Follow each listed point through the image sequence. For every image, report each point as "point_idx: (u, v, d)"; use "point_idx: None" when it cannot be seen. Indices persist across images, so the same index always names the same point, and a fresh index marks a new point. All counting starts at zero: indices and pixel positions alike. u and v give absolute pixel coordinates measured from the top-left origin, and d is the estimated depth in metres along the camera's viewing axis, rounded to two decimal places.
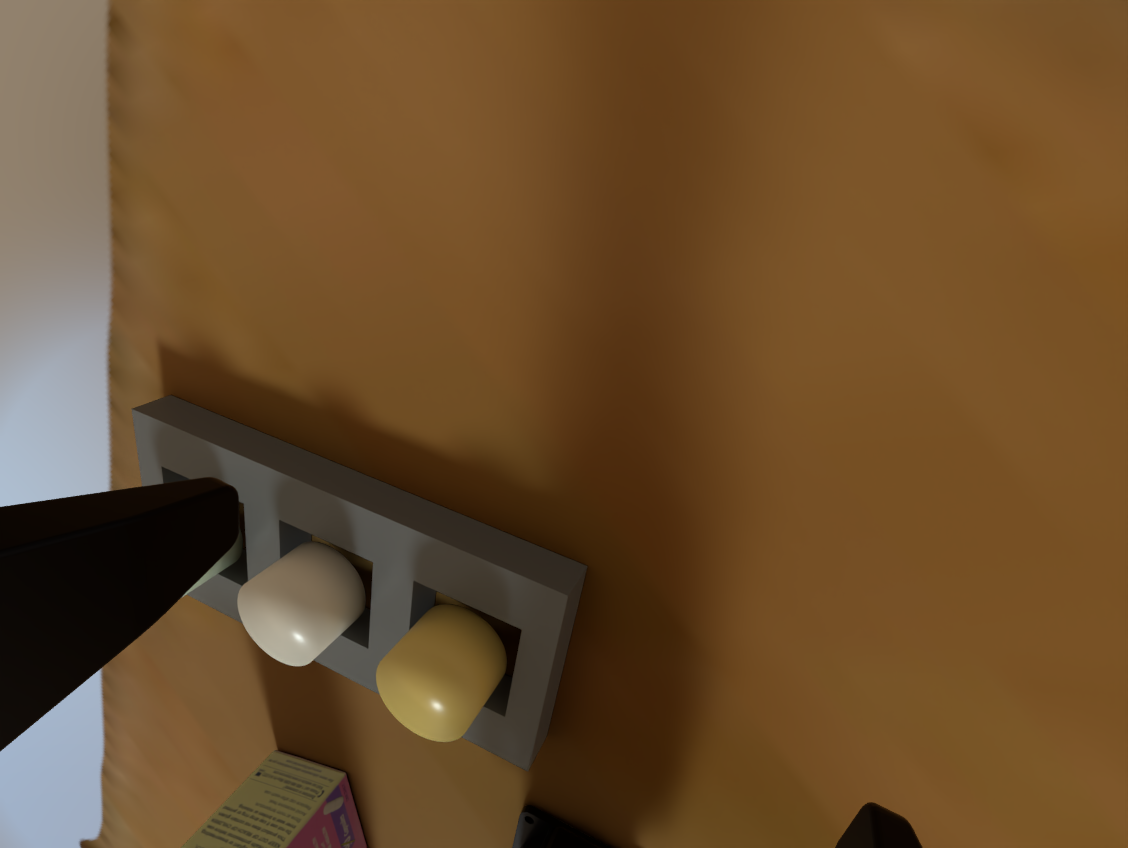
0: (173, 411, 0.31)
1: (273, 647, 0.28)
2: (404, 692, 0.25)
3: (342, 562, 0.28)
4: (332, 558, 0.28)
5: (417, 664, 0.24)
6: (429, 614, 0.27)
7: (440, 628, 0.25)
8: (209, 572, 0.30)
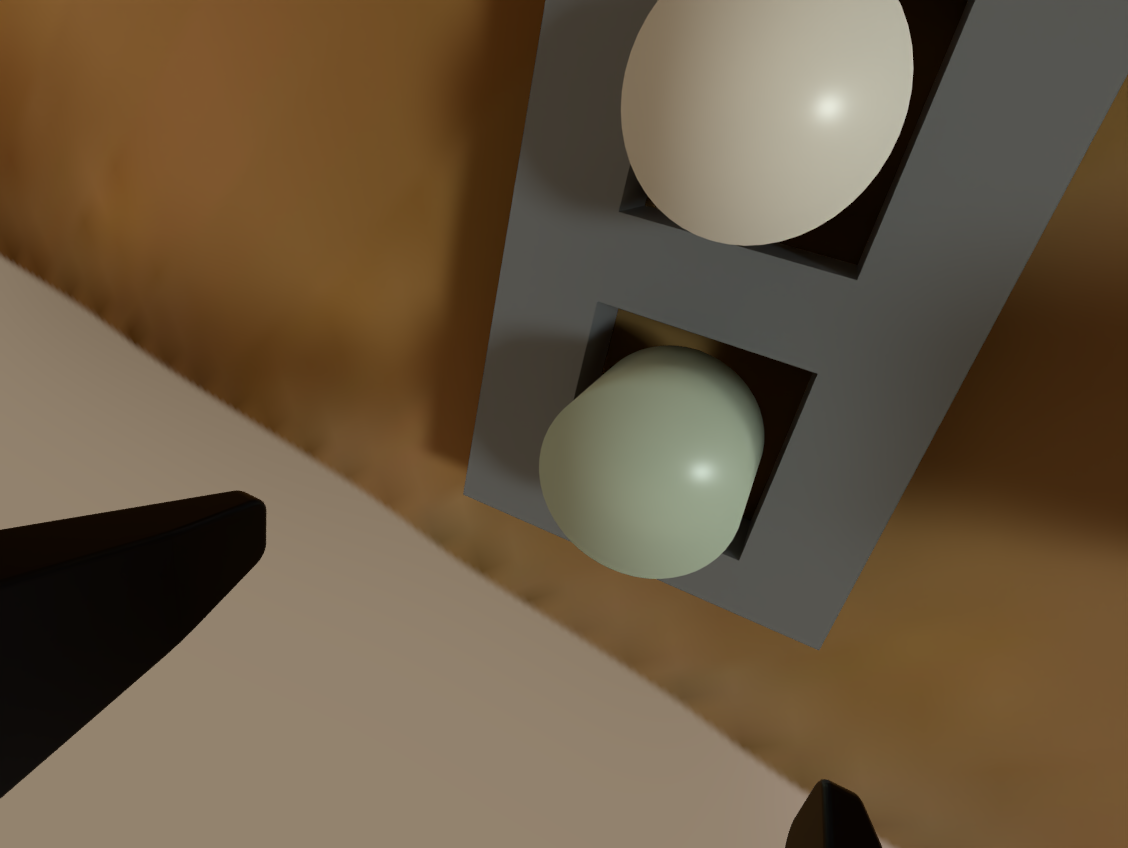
0: None
1: (846, 139, 0.10)
2: None
3: None
4: None
5: None
6: None
7: None
8: (704, 386, 0.13)
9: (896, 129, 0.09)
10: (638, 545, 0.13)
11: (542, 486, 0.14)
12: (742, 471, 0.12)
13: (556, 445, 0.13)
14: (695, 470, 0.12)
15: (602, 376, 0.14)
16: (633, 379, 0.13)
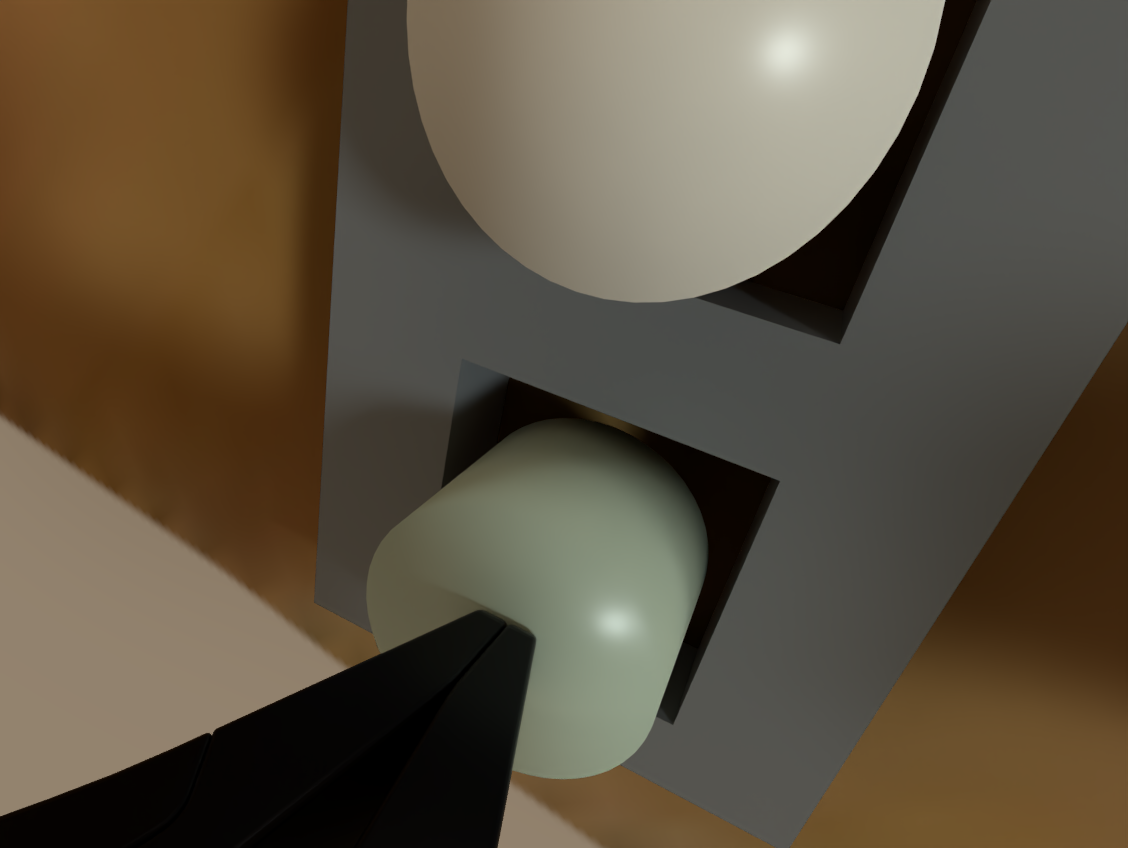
0: None
1: (811, 104, 0.05)
2: None
3: None
4: None
5: None
6: None
7: None
8: (606, 498, 0.08)
9: (911, 83, 0.05)
10: None
11: (375, 632, 0.09)
12: (655, 644, 0.08)
13: (387, 579, 0.09)
14: (584, 636, 0.08)
15: (468, 468, 0.10)
16: (493, 490, 0.08)
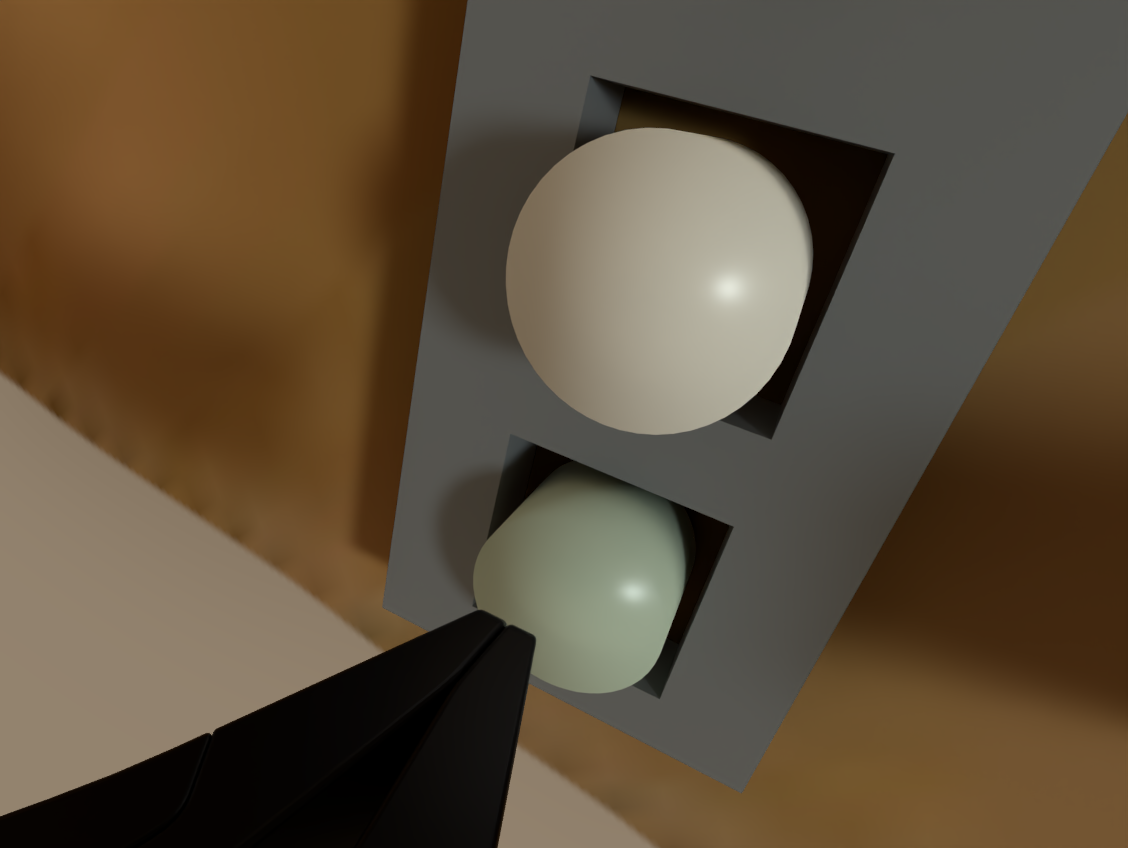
0: None
1: (736, 342, 0.09)
2: None
3: None
4: None
5: None
6: None
7: None
8: (631, 513, 0.13)
9: (787, 338, 0.09)
10: (567, 661, 0.14)
11: (476, 599, 0.14)
12: (663, 602, 0.13)
13: (489, 564, 0.14)
14: (618, 599, 0.13)
15: (537, 491, 0.15)
16: (561, 507, 0.13)
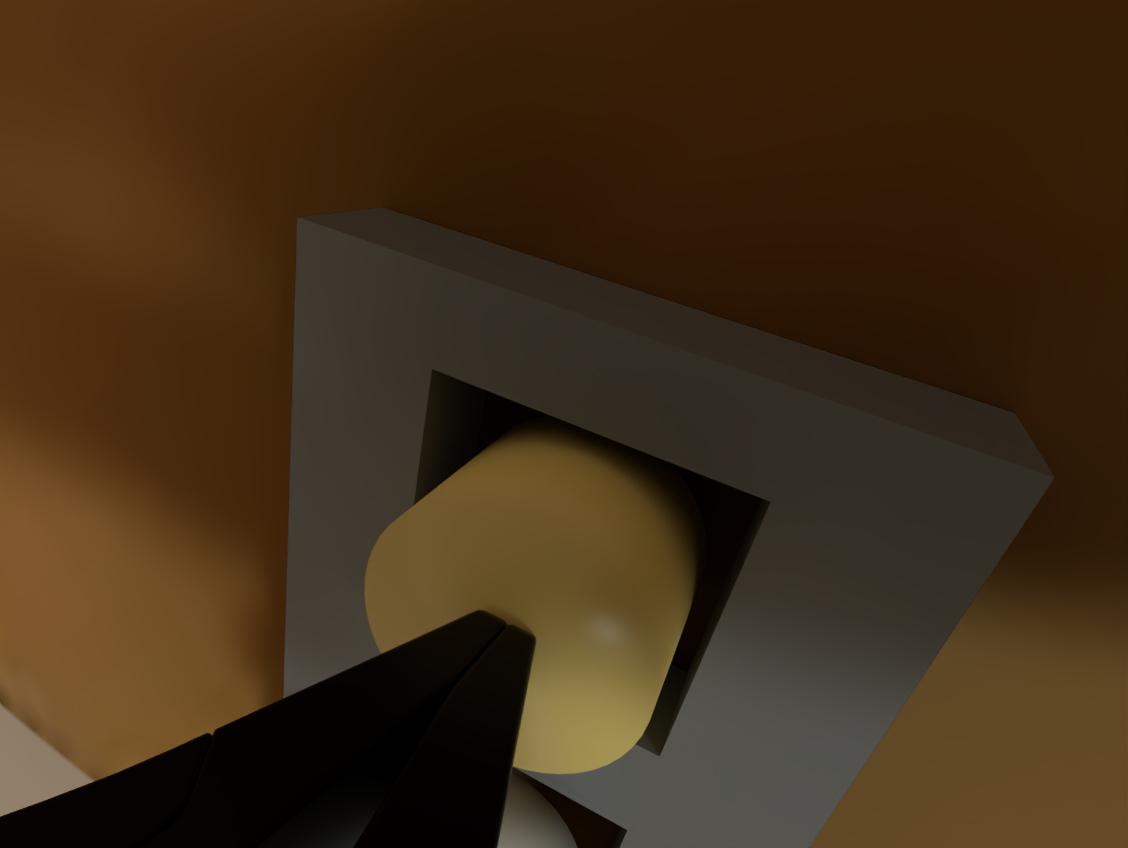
0: None
1: None
2: None
3: None
4: None
5: (393, 611, 0.09)
6: None
7: None
8: None
9: None
10: None
11: None
12: None
13: None
14: None
15: None
16: None
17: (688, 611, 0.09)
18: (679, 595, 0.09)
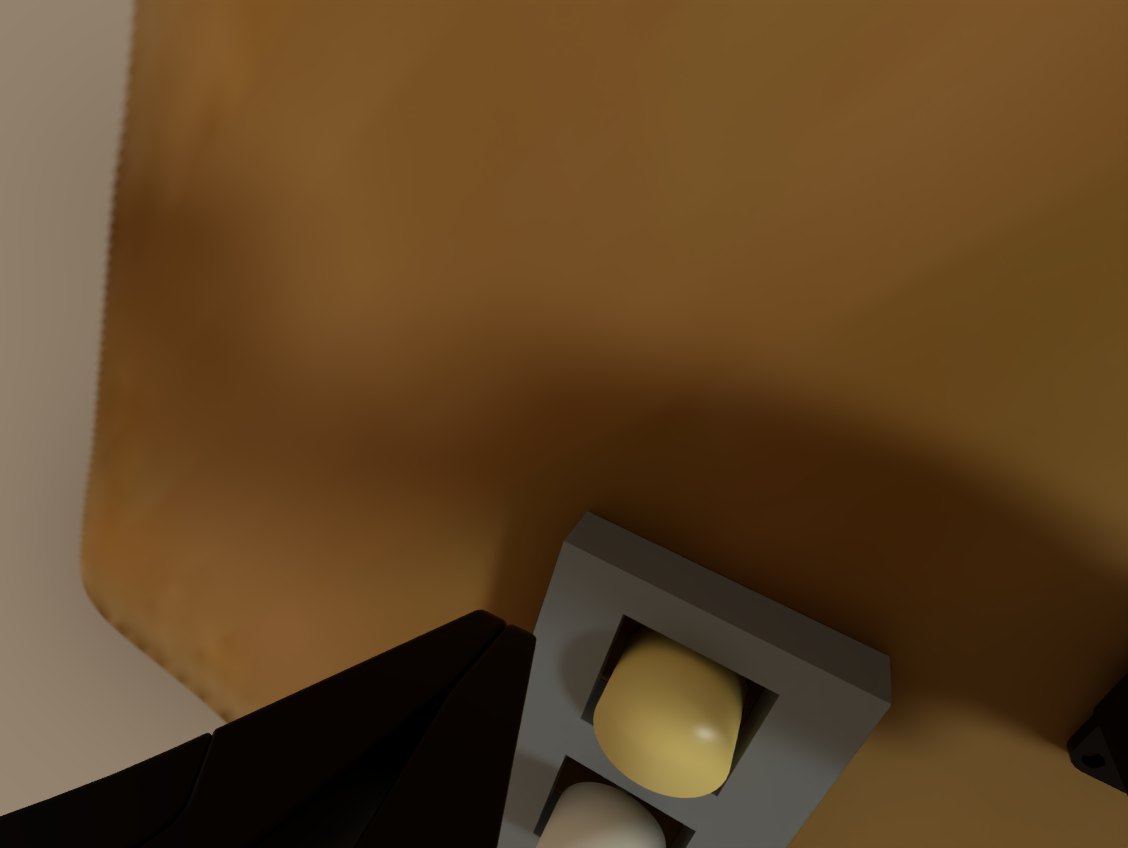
0: None
1: None
2: (657, 761, 0.20)
3: (570, 790, 0.24)
4: (561, 798, 0.24)
5: (608, 721, 0.20)
6: None
7: None
8: None
9: None
10: None
11: None
12: None
13: None
14: None
15: None
16: None
17: None
18: (738, 722, 0.20)
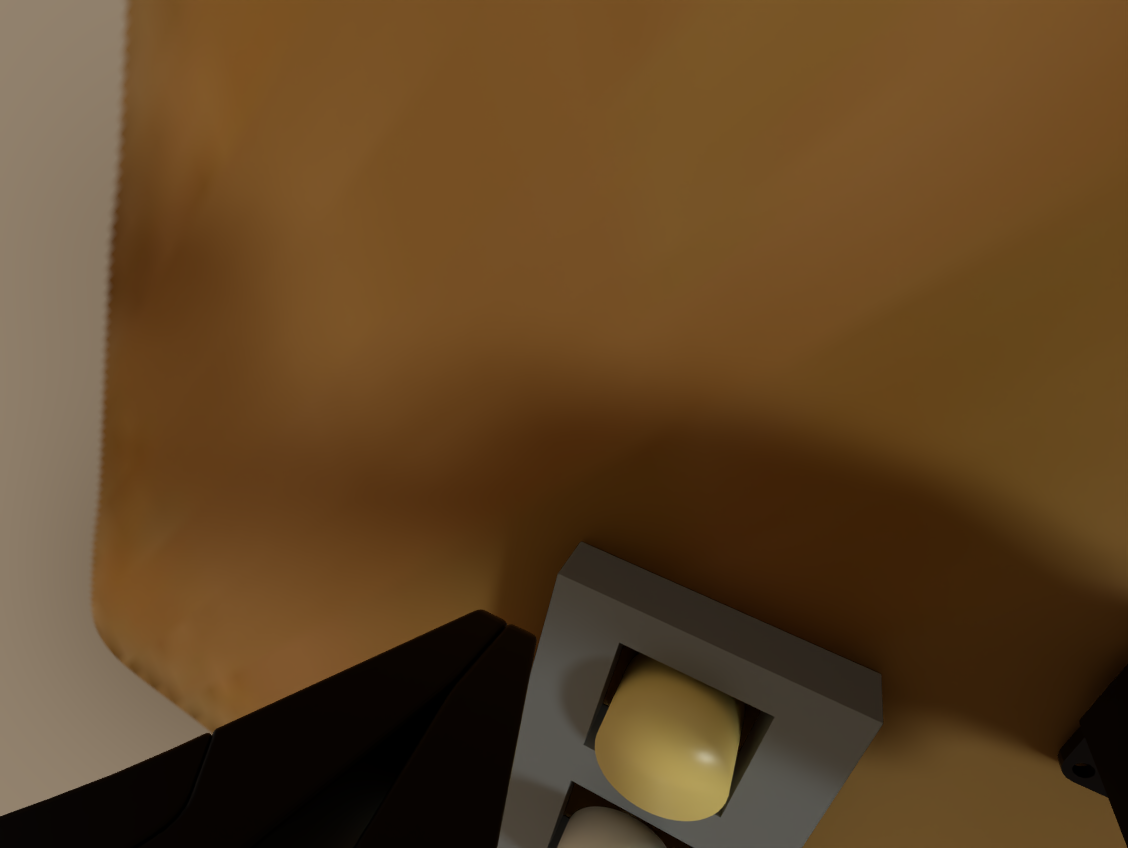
0: None
1: None
2: (658, 786, 0.20)
3: (577, 815, 0.24)
4: (569, 823, 0.24)
5: (609, 748, 0.21)
6: None
7: None
8: None
9: None
10: None
11: None
12: None
13: None
14: None
15: None
16: None
17: None
18: (736, 744, 0.20)
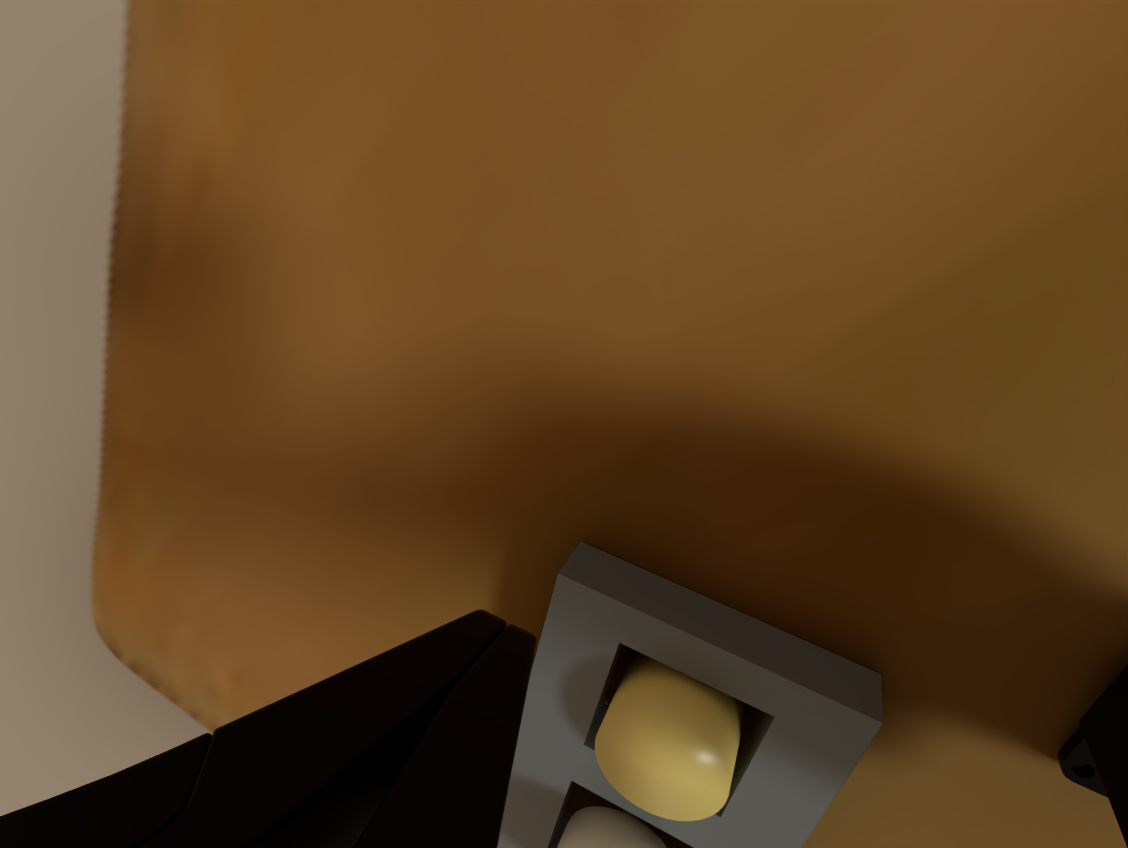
0: None
1: None
2: (658, 786, 0.20)
3: (577, 815, 0.24)
4: (569, 823, 0.24)
5: (609, 749, 0.21)
6: None
7: None
8: None
9: None
10: None
11: None
12: None
13: None
14: None
15: None
16: None
17: None
18: (736, 744, 0.20)
